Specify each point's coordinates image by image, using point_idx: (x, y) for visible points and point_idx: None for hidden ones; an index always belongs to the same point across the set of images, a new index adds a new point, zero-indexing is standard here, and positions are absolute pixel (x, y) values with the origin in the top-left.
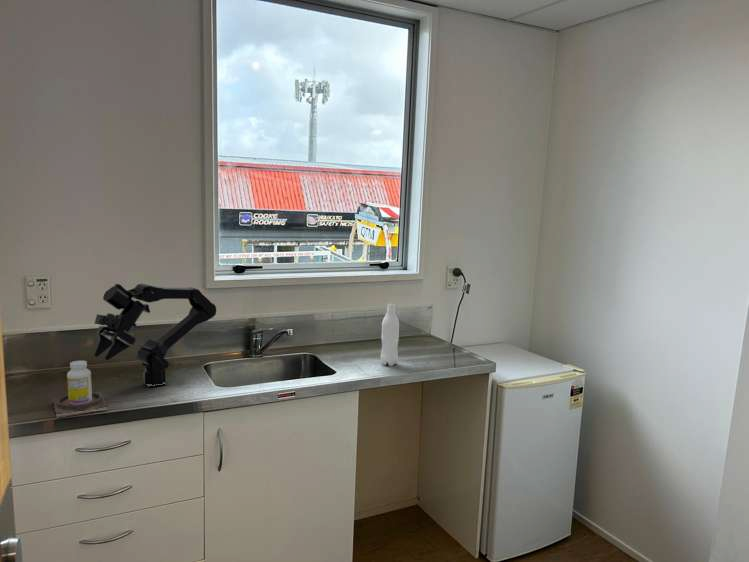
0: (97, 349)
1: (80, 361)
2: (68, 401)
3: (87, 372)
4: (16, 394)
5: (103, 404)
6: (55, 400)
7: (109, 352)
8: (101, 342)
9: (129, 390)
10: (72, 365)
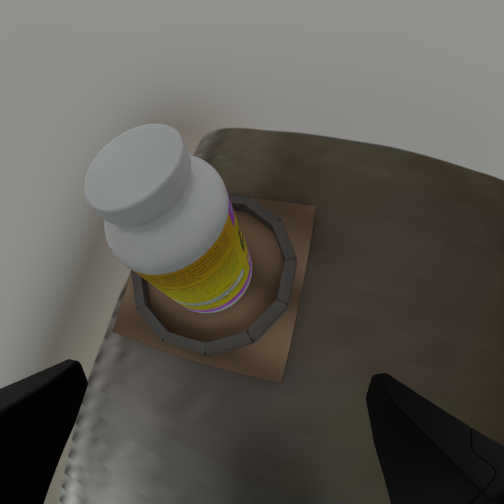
0: (405, 419)
1: (141, 175)
2: (251, 241)
3: (107, 235)
4: (447, 166)
5: (132, 327)
6: (293, 210)
7: (17, 388)
8: (460, 496)
9: (281, 490)
10: (123, 136)
